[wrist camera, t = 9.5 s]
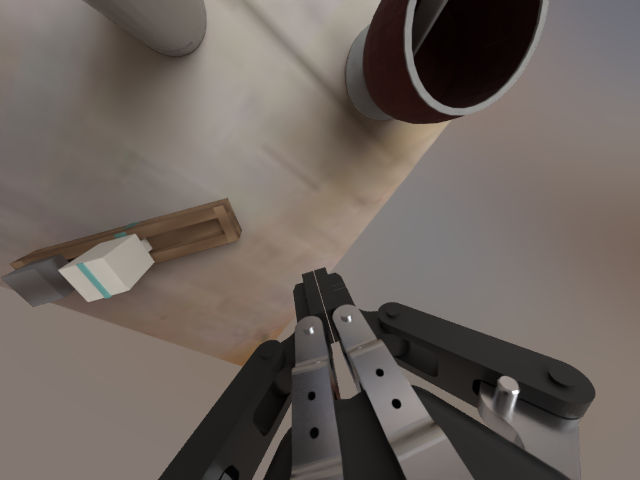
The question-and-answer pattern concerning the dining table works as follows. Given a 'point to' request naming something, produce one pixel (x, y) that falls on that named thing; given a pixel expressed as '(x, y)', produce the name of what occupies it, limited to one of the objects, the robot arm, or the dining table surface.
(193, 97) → the dining table surface
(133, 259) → the block
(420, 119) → the mate gourd
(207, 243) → the beam
